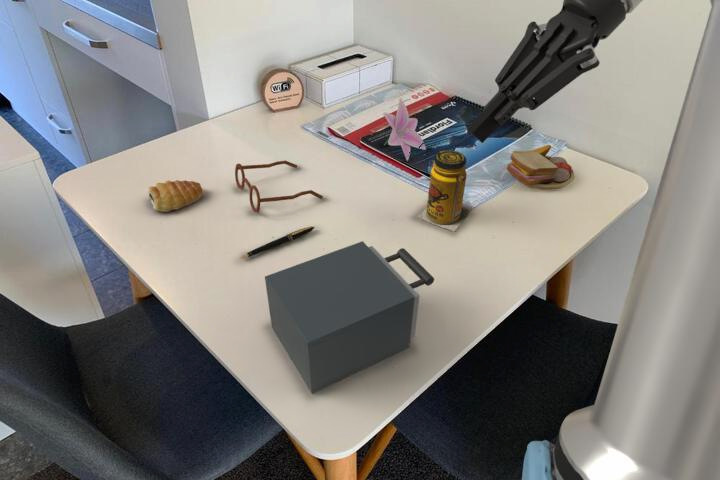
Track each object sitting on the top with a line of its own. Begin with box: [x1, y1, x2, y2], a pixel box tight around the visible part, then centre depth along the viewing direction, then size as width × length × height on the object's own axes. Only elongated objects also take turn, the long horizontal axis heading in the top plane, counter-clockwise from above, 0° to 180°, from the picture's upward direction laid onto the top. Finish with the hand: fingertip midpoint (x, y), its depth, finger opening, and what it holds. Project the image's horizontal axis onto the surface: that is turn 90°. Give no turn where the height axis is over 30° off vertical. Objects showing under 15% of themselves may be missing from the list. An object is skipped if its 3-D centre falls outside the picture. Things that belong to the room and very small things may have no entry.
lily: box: [383, 97, 426, 162], centre depth 110 cm, size 12×12×10 cm
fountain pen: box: [239, 226, 315, 259], centre depth 86 cm, size 14×1×2 cm, turn 126°
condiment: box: [417, 149, 475, 232], centre depth 90 cm, size 7×8×12 cm
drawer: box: [368, 245, 435, 340], centre depth 70 cm, size 18×11×8 cm, turn 120°
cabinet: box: [264, 240, 415, 395], centre depth 68 cm, size 15×13×10 cm
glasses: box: [234, 160, 324, 213], centre depth 98 cm, size 13×13×5 cm
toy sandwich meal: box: [506, 144, 575, 191], centre depth 103 cm, size 12×14×5 cm
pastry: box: [147, 179, 204, 213], centre depth 95 cm, size 9×7×4 cm
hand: (474, 135), depth 73 cm, fingers closed
